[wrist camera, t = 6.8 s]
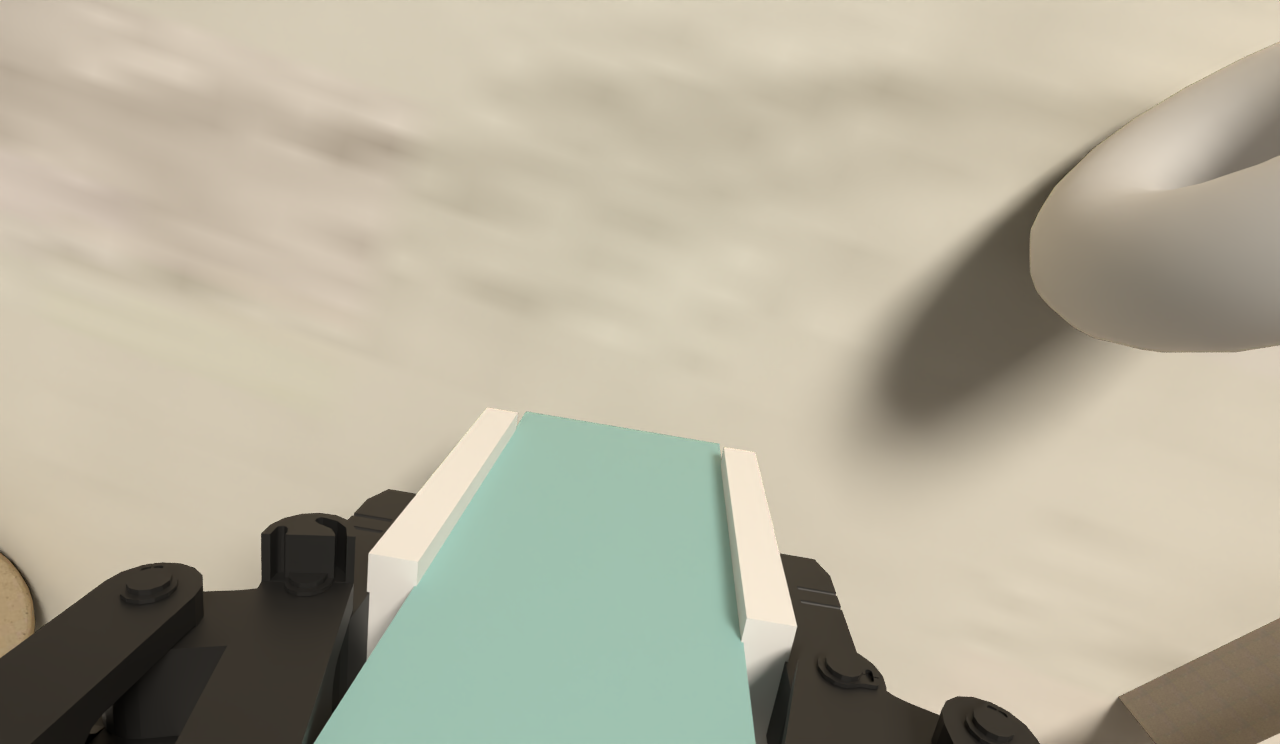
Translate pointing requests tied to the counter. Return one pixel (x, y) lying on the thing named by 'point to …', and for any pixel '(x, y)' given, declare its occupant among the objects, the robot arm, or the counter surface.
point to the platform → (1216, 695)
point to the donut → (1174, 221)
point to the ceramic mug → (14, 608)
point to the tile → (569, 605)
